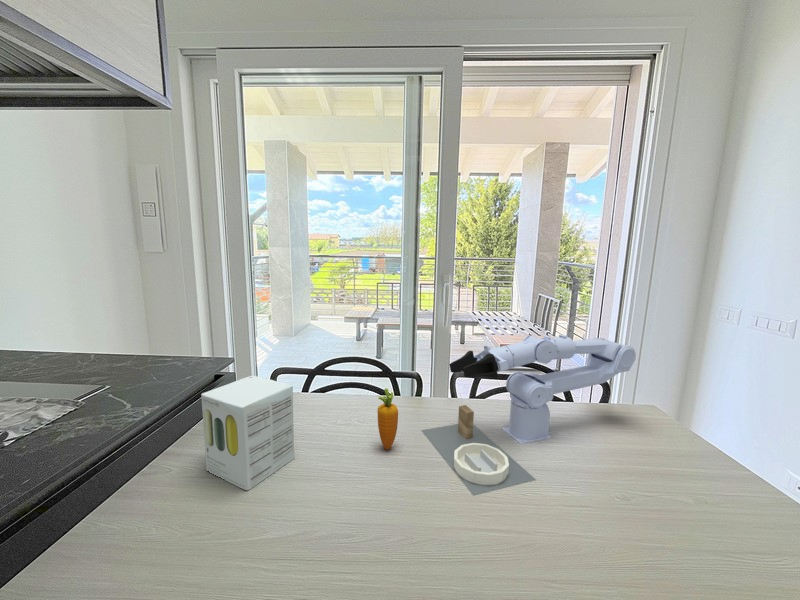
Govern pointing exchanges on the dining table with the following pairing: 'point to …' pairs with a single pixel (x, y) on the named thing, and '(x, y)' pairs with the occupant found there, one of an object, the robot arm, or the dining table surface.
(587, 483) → the dining table surface
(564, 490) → the dining table surface
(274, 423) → the supplement box
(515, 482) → the slate board
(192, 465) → the dining table surface
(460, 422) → the tan cardboard box
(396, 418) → the carrot
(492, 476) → the plate
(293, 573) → the dining table surface
